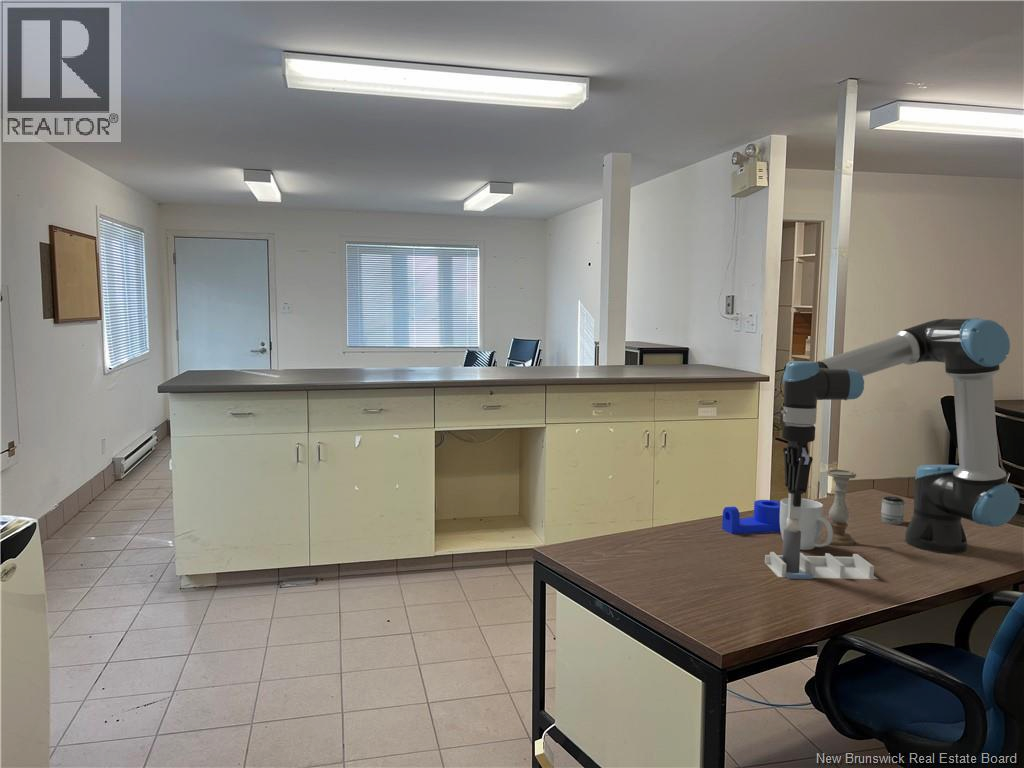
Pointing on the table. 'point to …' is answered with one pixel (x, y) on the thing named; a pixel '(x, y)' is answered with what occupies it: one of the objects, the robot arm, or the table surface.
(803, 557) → the white compartment tray
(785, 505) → the mug
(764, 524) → the bracket
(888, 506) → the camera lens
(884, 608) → the table surface
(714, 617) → the table surface
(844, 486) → the candle holder
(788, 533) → the two-tone capped cylinder
